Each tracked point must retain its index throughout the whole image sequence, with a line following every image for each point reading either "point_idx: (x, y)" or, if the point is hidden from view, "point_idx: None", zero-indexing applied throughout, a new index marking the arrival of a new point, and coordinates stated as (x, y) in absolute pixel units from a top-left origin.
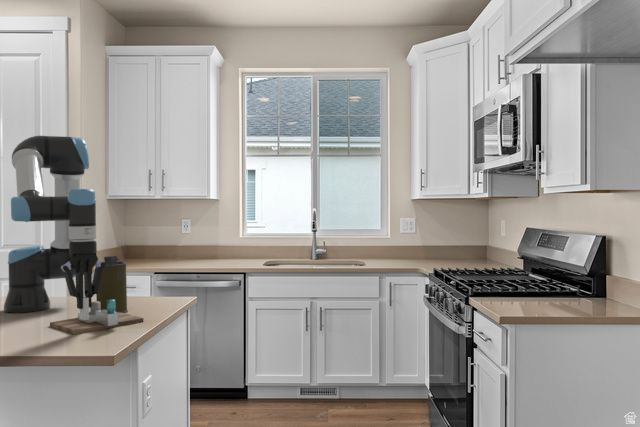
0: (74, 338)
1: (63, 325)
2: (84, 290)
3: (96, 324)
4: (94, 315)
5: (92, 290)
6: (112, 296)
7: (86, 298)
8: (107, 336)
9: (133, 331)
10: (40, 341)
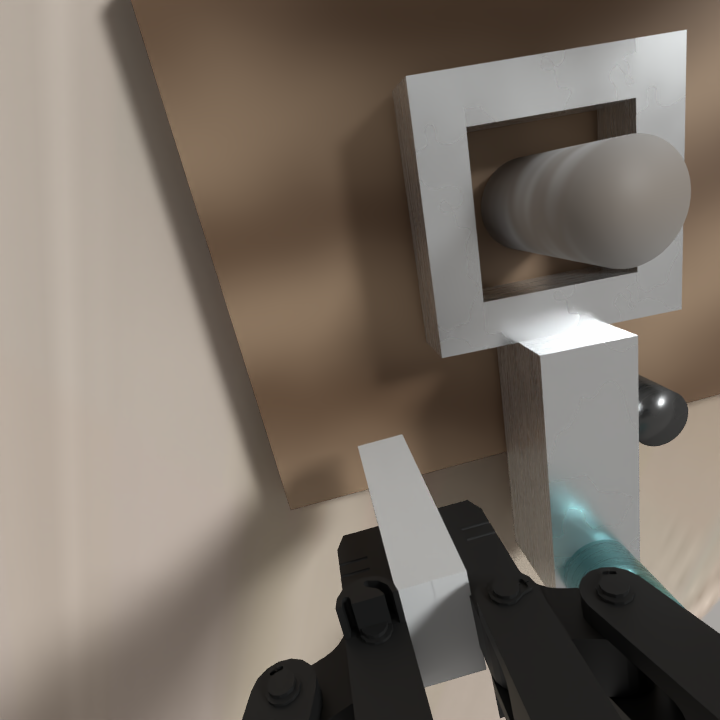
0: (273, 603)
1: (235, 255)
2: (501, 652)
3: (475, 396)
4: (508, 335)
5: (607, 672)
6: None
7: (455, 672)
8: None
9: None
10: (59, 572)
